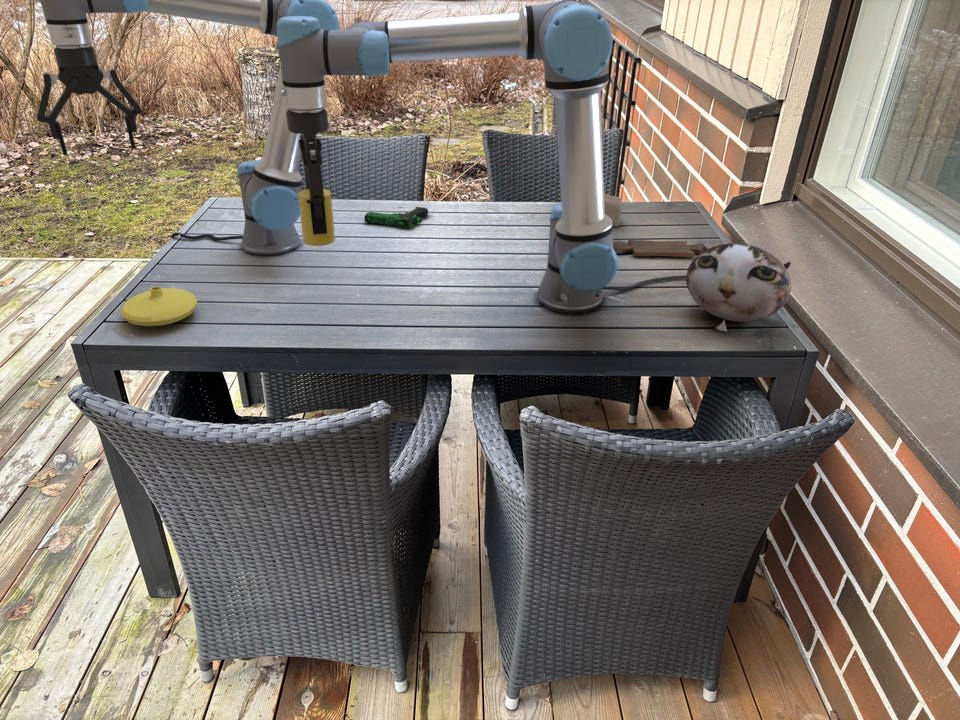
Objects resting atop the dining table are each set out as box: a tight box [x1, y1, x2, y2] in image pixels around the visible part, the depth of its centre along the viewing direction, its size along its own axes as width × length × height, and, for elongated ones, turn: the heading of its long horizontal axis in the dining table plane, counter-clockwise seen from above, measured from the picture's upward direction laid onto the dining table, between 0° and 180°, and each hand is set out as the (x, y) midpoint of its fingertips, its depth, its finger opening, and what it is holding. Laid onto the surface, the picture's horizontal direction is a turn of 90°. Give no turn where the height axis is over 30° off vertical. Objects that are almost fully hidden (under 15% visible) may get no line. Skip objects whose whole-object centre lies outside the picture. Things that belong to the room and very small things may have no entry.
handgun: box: [363, 206, 429, 230], centre depth 215 cm, size 16×3×15 cm
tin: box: [298, 188, 336, 247], centre depth 143 cm, size 6×6×10 cm
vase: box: [120, 286, 198, 327], centre depth 157 cm, size 16×16×7 cm
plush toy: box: [685, 242, 792, 332], centre depth 158 cm, size 22×18×20 cm
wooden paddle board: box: [613, 239, 706, 258], centre depth 197 cm, size 26×2×10 cm
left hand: (100, 150), depth 157 cm, fingers open, 13 cm apart
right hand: (318, 227), depth 144 cm, fingers closed on tin, 6 cm apart
